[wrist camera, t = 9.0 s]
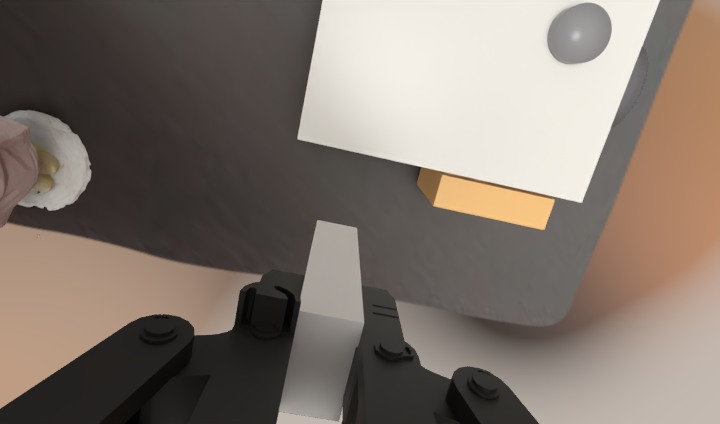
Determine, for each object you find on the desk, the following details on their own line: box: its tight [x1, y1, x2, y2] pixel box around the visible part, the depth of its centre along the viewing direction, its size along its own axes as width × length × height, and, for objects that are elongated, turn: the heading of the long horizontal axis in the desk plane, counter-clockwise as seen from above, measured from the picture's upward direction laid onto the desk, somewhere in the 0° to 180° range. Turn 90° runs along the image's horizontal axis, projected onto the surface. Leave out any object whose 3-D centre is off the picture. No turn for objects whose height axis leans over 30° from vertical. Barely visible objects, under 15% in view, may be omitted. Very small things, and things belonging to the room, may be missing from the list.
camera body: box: [297, 0, 660, 203], centre depth 28 cm, size 21×12×11 cm, turn 77°
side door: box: [417, 167, 555, 230], centre depth 31 cm, size 8×2×7 cm, turn 77°
